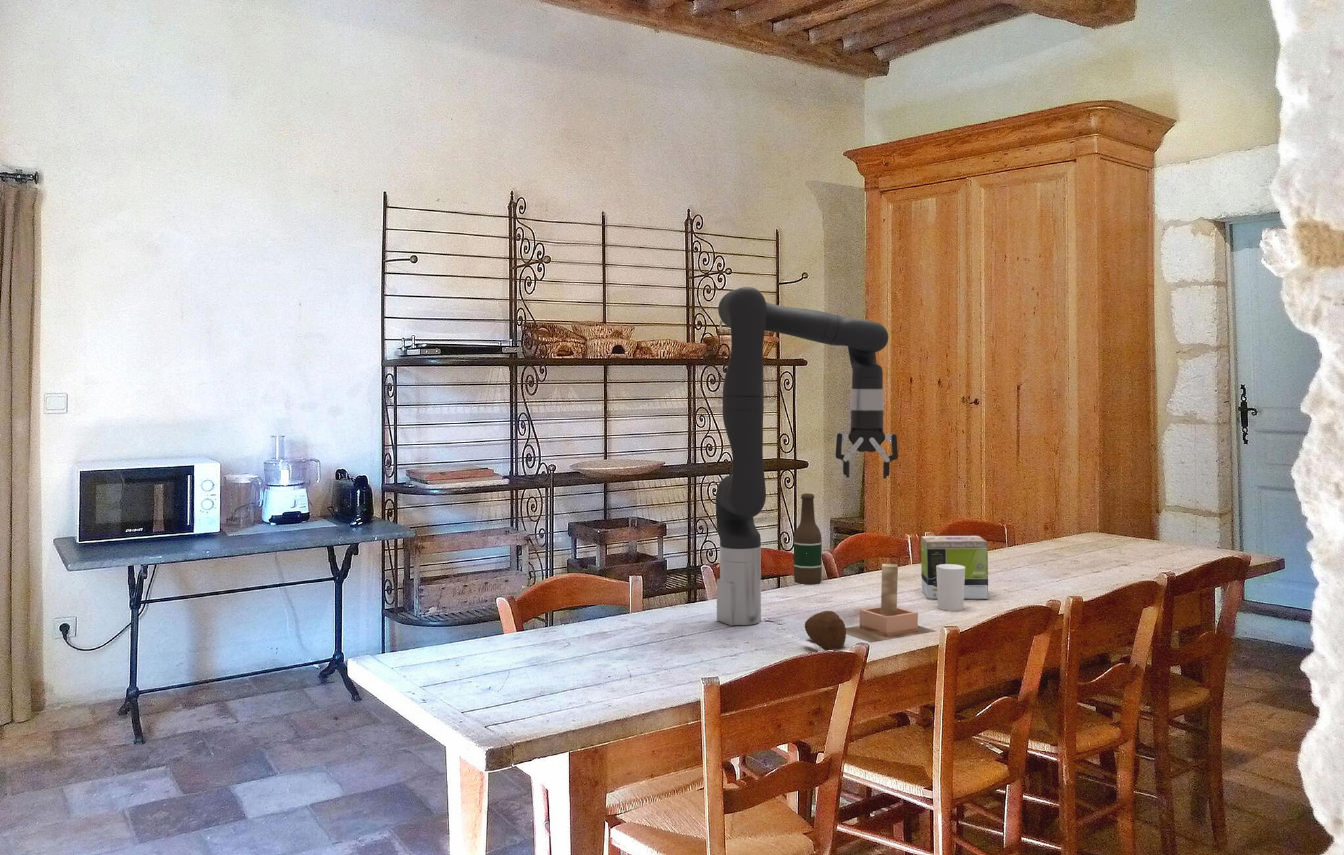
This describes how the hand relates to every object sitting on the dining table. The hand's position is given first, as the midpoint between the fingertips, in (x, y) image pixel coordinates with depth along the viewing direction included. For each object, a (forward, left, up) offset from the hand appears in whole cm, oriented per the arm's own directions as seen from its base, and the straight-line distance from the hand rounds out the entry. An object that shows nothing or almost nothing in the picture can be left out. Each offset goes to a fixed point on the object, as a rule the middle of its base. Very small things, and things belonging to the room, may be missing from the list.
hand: (866, 477), depth 233 cm
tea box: (+31, +3, -32) cm, 45 cm away
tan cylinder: (-10, -19, -30) cm, 37 cm away
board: (-11, -19, -32) cm, 39 cm away
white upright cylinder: (+20, -7, -32) cm, 38 cm away
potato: (-28, -21, -32) cm, 47 cm away
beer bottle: (+10, +36, -32) cm, 49 cm away
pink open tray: (-10, -19, -31) cm, 37 cm away
